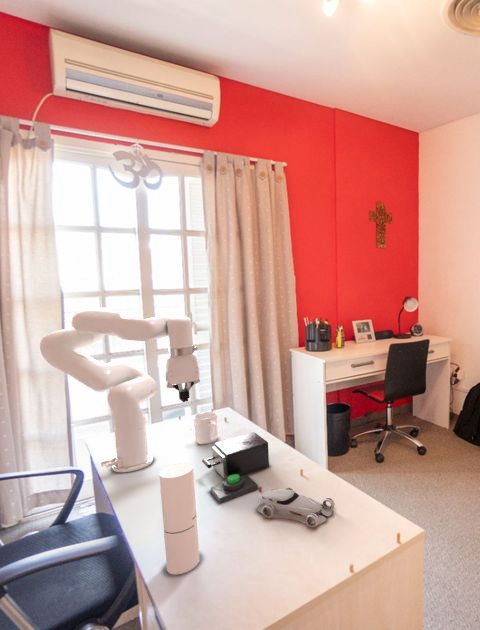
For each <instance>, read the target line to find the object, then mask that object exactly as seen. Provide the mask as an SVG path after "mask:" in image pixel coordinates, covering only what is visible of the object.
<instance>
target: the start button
mask: <svg viewBox="0 0 480 630" xmlns="http://www.w3.org/2000/svg"><path fill="white" fill-rule="evenodd" d="M239 481H240V476H239V475H238V474H234V475H230V476H229V477H228V484H235V483H238V482H239Z"/></svg>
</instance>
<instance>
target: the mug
mask: <svg viewBox="0 0 480 630" xmlns="http://www.w3.org/2000/svg"><path fill="white" fill-rule="evenodd" d="M218 422H219V420H218V413H217V412H215V411H204V412H200V413H197V414H195V415H194V416H193V428H194V441H195V442H196V444H199V445H208V444H212V443H214V442H216V441H217V440H218V438H219V436H220V435H219V423H218Z"/></svg>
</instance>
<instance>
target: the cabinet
mask: <svg viewBox="0 0 480 630" xmlns="http://www.w3.org/2000/svg"><path fill="white" fill-rule="evenodd" d="M214 446H216V447H217V448H218V449H219V450H220V451H221V452H222V453H223V454H225V455H226V461H227V478H228V477H229V476H230V475H234V474H238V475H239V476H244V475H249V474H252V473H255V472H258V471H261V470H264V469H267V468H269V467H270V457H269V456H270V455H269V453H270V452H269V442H268V441H267V440H265V438H263V437H262V436H260V435H259V434H257V432H254V431H253V432H250V433H246V434H243V435H239V436H235V437H232V438H227V439H225V440H222V441H221V440H220V441H218V442H215V443H214ZM227 478H225V479H227Z"/></svg>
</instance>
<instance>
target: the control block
mask: <svg viewBox="0 0 480 630" xmlns="http://www.w3.org/2000/svg"><path fill="white" fill-rule="evenodd" d="M258 489H259V487H258V483H256V482H255V481H254V479H252V478H251V477H250V476H249V474H247V475H244V476H240V481H239V482H238V483H235V484H228V478H227V479H226V478H225V479H224V480H223V481H222V482H221V483H218V484H215V485H213V486H210V493H211V495H213V496H214V498H215V499H216V500H217V501H218V503H219V504H223V503H224V502H227V501H231V500H233V499H236V498H238V497H241V496H244V495H246V494H248V493H252V492H254V491H256V490H258Z"/></svg>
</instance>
